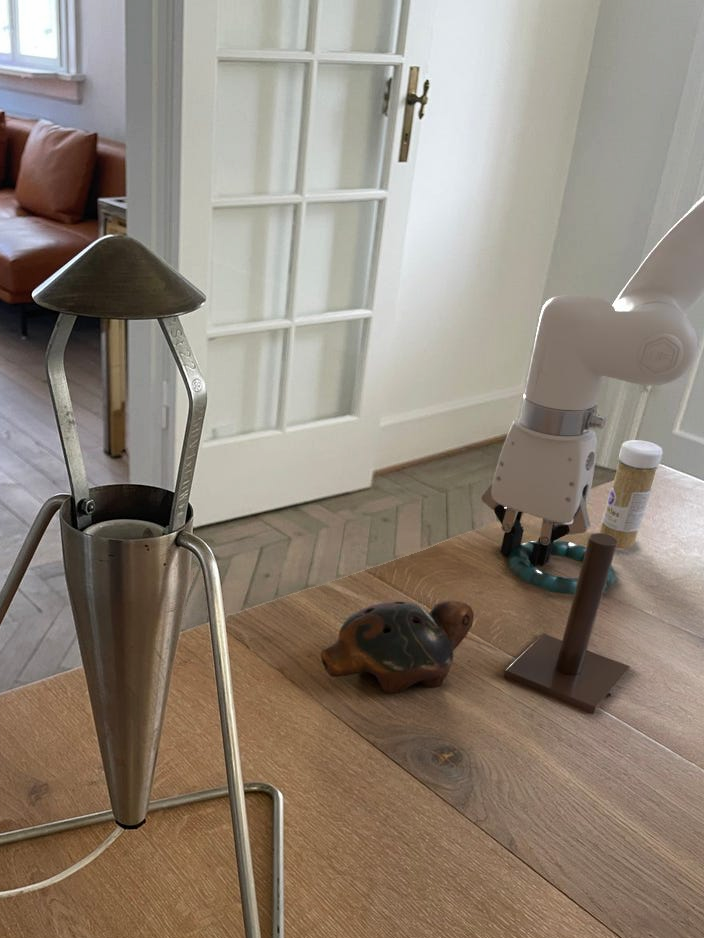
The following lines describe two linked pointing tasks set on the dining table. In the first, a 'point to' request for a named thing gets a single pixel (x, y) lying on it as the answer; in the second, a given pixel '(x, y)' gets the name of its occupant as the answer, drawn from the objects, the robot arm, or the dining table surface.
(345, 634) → the decorative turtle
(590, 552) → the post
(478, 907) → the dining table surface
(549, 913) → the dining table surface
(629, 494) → the sprinkles bottle
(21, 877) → the dining table surface
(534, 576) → the ring
